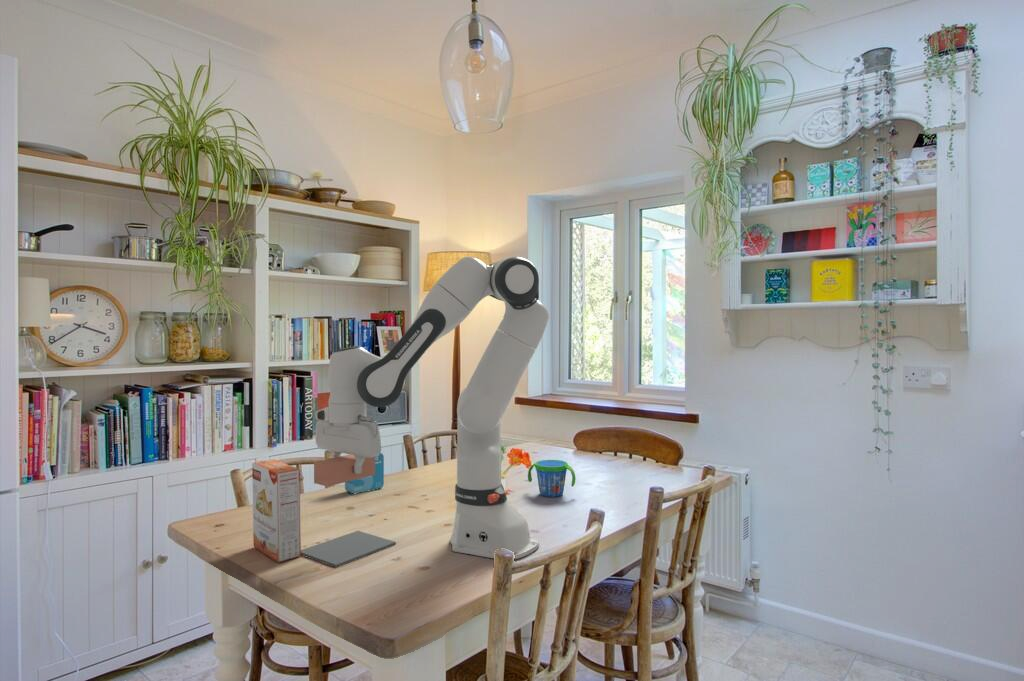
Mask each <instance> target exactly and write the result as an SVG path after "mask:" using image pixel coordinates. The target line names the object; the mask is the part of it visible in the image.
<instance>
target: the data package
mask: <svg viewBox="0 0 1024 681" xmlns="http://www.w3.org/2000/svg"><path fill="white" fill-rule="evenodd" d="M384 461H385V455H384V454H383V453H382V452H381V453H380V454H379V456H376V457H375V475H372V476H368V477H364V478H360V479H356V480H352V481H348V482H344V490H345V491H346V492H348V493H351V494H353V493H358V494H360V493H359V492H363V493H365V492H364V491H367V492H369V491H368V490H372V491H374V490H373V489H377V488H381V489H382V488H383V487H384V485H385V475H384V474H385V473H384V471H385V468H384V466H385V463H384ZM377 490H378V489H377Z"/></svg>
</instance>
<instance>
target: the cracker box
mask: <svg viewBox="0 0 1024 681" xmlns="http://www.w3.org/2000/svg"><path fill="white" fill-rule="evenodd" d="M251 464H252V466H251V469H252V470H251V471H252V474H251V476H252V477H251V478H252V520H253V521H252V522H253V523H252V527H253V530H252V531H253V537H252V538H253V547H254V548H255V549H257V550H259V551H260V553H261V552H262V553H263V554H265V555H266V556H267V557H269V558H270V559H272V561H273V560H274V561H275V562H276V561H277V562H276V563H278V562H279V563H283V562H286V561H288V560H289V559H290V560H293V559H296V557H297V558H300V557H301V556H302V555H301V550H302V547H301V544H302V543H301V542H302V541H301V538H302V537H301V536H302V534H301V470H300V468H298V467H295V466H293V465H289V464H287V463H284V462H281V461H279V460H276V459H269V460H260V461H256V462H253V463H251ZM282 561H283V562H282Z"/></svg>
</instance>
